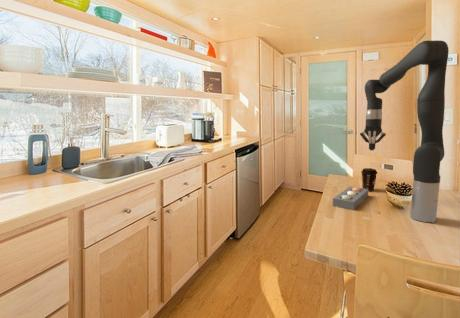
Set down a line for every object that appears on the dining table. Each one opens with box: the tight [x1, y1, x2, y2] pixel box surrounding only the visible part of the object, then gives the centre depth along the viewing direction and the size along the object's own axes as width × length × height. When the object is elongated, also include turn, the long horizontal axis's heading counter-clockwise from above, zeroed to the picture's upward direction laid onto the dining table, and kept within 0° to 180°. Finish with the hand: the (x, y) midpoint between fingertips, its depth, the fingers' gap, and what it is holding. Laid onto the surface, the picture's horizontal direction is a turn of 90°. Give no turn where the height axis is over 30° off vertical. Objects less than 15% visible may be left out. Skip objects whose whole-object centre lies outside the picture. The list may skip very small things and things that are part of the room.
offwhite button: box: [347, 191, 356, 196], centre depth 143 cm, size 4×4×3 cm
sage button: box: [342, 195, 351, 200], centre depth 137 cm, size 4×4×3 cm
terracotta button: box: [352, 186, 362, 192], centre depth 150 cm, size 4×4×3 cm
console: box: [332, 186, 369, 211], centre depth 143 cm, size 10×28×4 cm, turn 140°
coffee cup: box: [360, 167, 378, 192], centre depth 162 cm, size 9×8×13 cm
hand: (371, 150), depth 145 cm, fingers closed
